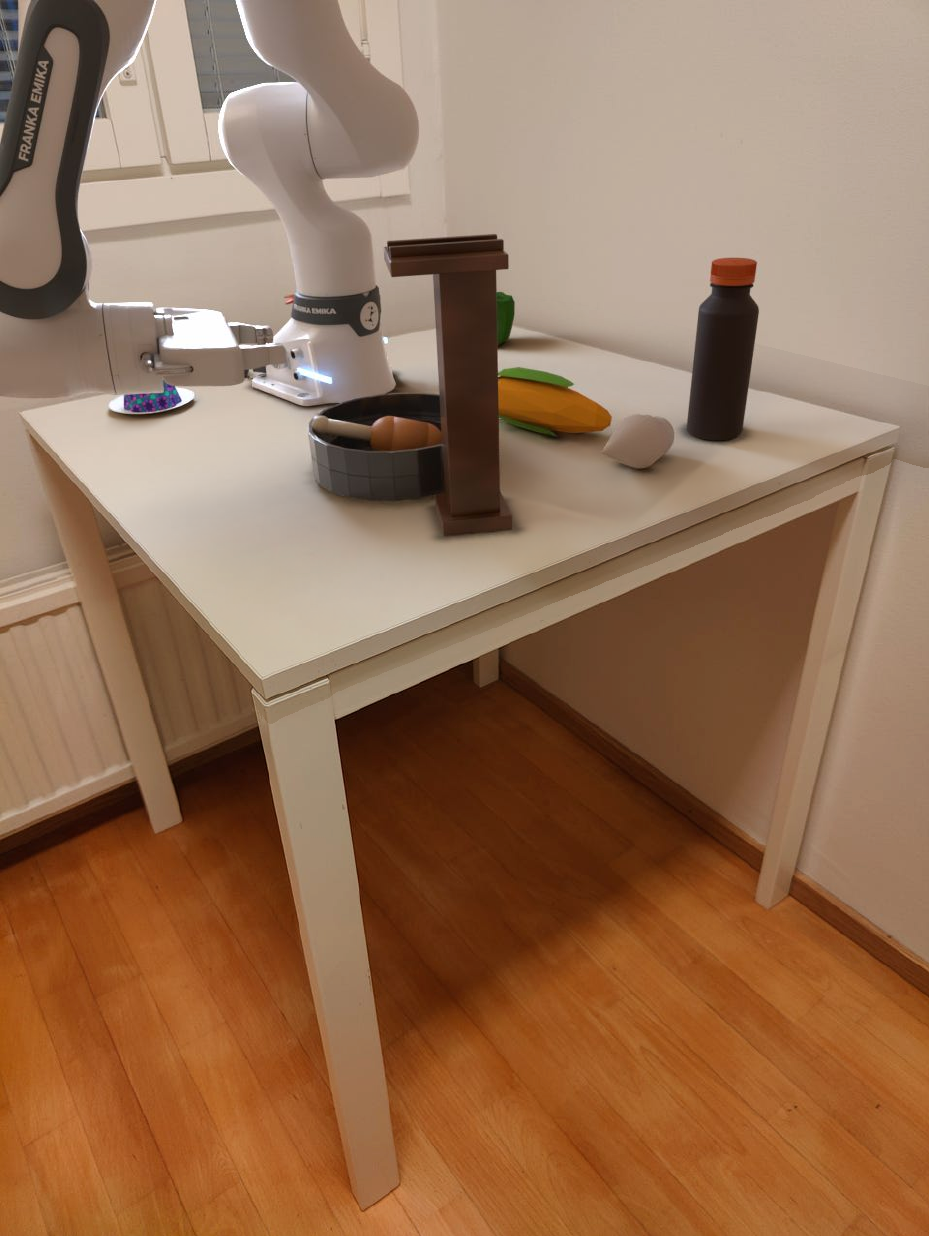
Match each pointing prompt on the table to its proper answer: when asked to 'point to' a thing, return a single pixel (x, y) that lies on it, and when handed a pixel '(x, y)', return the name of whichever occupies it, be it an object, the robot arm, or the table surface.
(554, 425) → the corn
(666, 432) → the ice cream cone
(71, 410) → the table surface
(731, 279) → the bottle
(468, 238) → the stand
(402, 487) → the bowl
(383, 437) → the drumstick
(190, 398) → the pudding
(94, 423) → the table surface
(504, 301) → the bell pepper
